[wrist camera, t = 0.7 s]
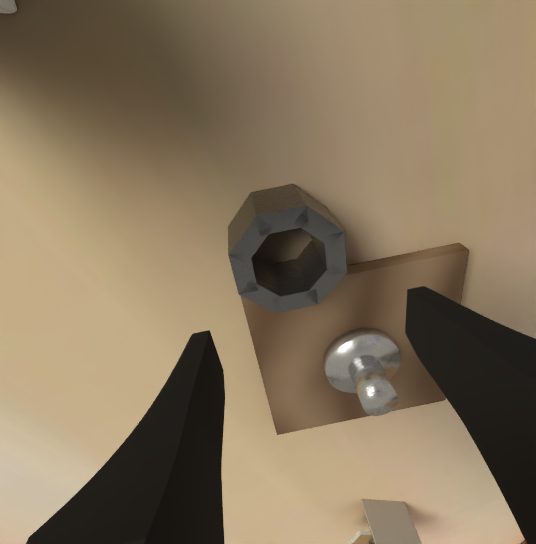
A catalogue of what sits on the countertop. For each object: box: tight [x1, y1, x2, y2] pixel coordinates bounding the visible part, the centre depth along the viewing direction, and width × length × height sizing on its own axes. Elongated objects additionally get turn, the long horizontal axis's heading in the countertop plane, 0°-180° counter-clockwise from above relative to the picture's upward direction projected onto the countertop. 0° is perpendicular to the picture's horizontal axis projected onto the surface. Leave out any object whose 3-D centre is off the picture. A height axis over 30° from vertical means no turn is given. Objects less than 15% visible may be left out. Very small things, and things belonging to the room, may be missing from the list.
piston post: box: [323, 328, 401, 416], centre depth 22 cm, size 5×5×4 cm
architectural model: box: [348, 499, 422, 544], centre depth 35 cm, size 3×7×7 cm, turn 71°
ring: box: [228, 184, 347, 313], centre depth 18 cm, size 6×6×4 cm
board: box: [241, 243, 469, 435], centre depth 24 cm, size 14×14×1 cm
